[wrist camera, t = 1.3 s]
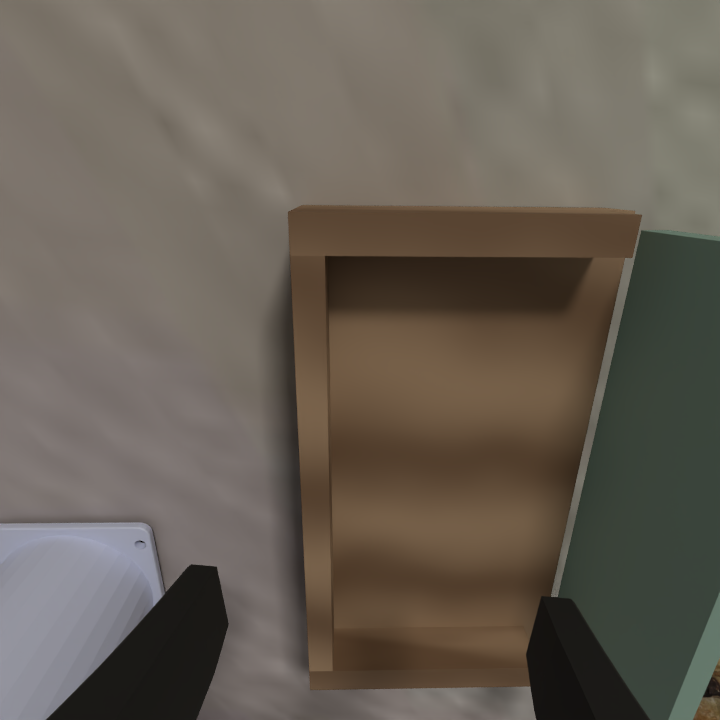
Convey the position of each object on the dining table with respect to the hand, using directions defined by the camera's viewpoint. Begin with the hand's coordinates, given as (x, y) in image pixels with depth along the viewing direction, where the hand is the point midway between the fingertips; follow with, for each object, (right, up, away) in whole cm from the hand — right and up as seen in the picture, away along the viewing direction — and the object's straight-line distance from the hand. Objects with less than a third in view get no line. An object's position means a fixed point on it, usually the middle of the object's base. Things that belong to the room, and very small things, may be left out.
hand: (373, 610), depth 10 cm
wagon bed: (+3, +2, +10) cm, 11 cm away
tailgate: (+9, +1, +8) cm, 13 cm away
